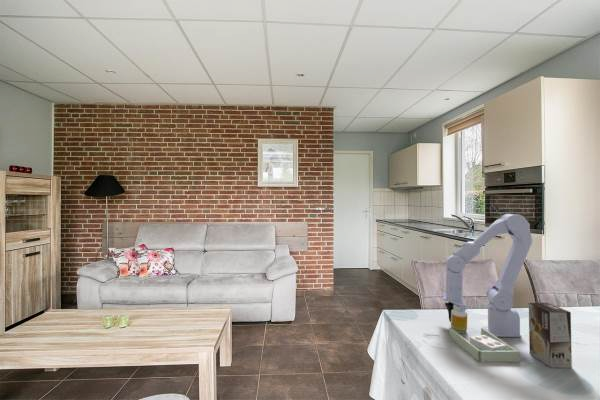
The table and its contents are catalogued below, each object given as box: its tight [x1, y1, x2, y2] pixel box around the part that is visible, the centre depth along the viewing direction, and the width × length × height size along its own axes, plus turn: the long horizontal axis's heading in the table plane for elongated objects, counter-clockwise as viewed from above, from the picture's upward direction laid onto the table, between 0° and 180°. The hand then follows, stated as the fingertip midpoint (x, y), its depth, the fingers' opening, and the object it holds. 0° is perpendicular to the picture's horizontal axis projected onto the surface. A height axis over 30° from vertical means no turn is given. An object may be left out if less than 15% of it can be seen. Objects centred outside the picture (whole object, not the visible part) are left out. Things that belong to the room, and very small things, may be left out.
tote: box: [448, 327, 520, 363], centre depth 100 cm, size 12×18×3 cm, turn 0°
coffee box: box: [528, 302, 573, 369], centre depth 93 cm, size 9×6×16 cm
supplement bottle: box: [450, 304, 468, 334], centre depth 114 cm, size 5×5×10 cm
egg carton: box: [469, 334, 507, 351], centre depth 97 cm, size 6×8×5 cm
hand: (453, 322), depth 117 cm, fingers closed, pressing on supplement bottle
